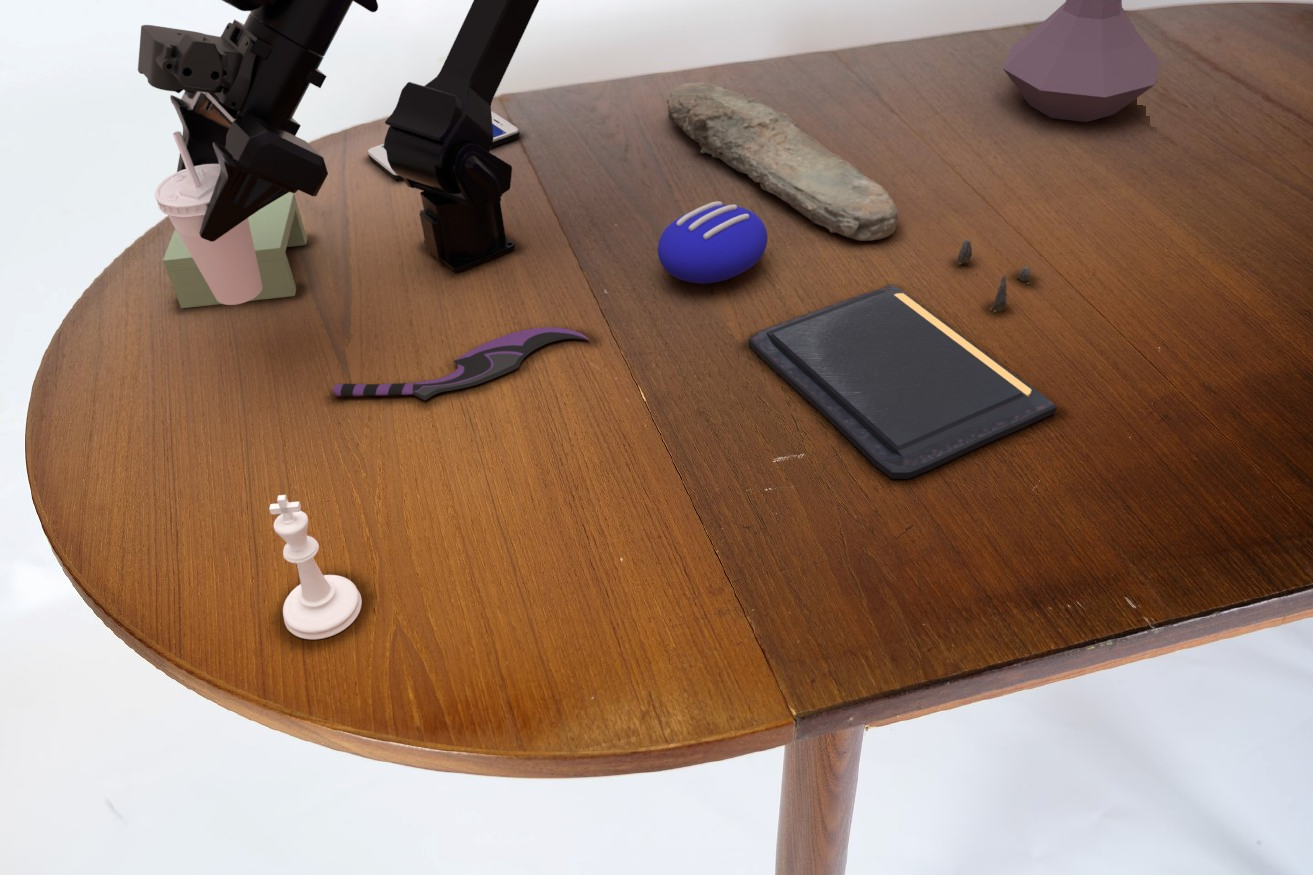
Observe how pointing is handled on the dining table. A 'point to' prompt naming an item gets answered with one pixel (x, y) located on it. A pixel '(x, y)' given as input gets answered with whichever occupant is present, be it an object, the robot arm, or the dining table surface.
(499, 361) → the knife
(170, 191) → the smoothie
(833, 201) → the long grey stone
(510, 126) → the smartphone
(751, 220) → the decorative object
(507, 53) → the robot arm
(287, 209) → the green box
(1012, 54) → the flask
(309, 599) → the chess piece
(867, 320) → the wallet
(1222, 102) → the dining table surface
